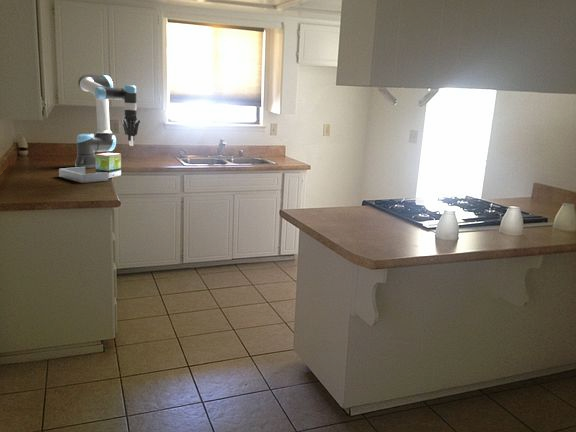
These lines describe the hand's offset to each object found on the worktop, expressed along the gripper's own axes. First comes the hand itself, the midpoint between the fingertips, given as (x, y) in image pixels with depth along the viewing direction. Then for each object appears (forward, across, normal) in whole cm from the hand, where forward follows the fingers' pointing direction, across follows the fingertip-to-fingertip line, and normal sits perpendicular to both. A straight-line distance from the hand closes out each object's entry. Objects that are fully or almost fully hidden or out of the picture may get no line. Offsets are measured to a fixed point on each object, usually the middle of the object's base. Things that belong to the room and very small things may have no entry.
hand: (131, 145), depth 348 cm
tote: (+19, +34, 0) cm, 39 cm away
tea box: (+19, +17, 0) cm, 26 cm away
